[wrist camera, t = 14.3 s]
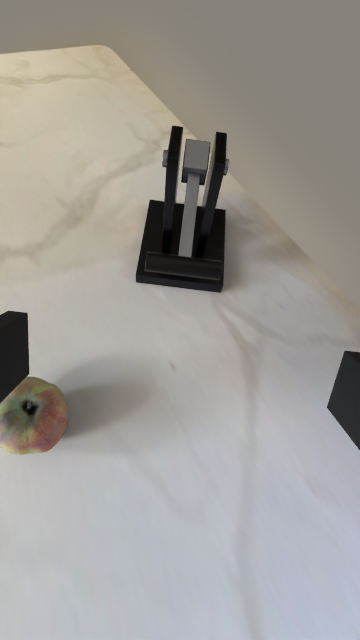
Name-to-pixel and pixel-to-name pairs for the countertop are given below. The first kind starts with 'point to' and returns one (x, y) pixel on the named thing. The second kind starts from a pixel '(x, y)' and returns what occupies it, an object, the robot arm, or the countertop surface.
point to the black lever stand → (168, 219)
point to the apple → (32, 417)
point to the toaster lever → (188, 222)
